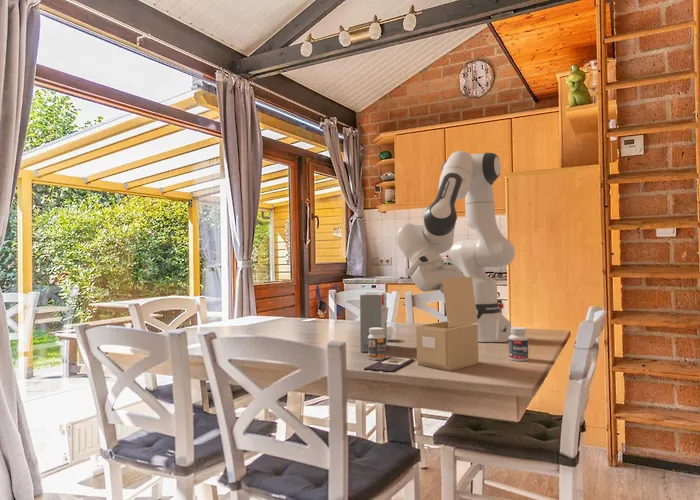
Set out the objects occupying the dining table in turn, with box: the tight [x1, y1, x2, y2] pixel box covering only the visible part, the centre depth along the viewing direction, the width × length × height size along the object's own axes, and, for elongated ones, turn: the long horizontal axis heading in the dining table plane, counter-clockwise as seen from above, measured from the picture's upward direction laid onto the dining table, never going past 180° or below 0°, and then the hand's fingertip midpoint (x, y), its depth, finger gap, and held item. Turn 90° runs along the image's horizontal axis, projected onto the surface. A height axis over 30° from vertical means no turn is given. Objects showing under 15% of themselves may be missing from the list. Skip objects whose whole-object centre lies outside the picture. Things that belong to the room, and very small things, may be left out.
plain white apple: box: [387, 324, 394, 342], centre depth 207 cm, size 7×7×8 cm
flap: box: [442, 277, 478, 327], centre depth 157 cm, size 14×1×14 cm, turn 131°
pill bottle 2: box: [508, 326, 529, 362], centre depth 166 cm, size 6×6×10 cm
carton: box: [415, 320, 480, 372], centre depth 161 cm, size 15×12×12 cm
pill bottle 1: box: [367, 327, 387, 361], centre depth 171 cm, size 6×6×10 cm
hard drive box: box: [359, 291, 388, 353], centre depth 190 cm, size 16×8×20 cm, turn 168°
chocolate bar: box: [363, 356, 415, 373], centre depth 161 cm, size 9×1×18 cm
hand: (455, 298), depth 158 cm, fingers closed
